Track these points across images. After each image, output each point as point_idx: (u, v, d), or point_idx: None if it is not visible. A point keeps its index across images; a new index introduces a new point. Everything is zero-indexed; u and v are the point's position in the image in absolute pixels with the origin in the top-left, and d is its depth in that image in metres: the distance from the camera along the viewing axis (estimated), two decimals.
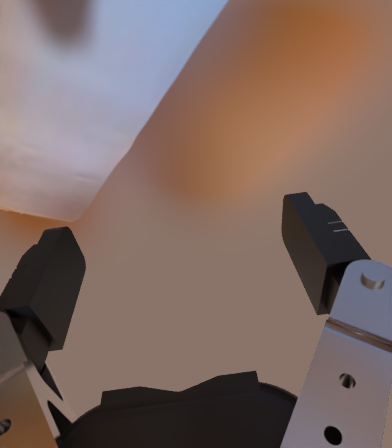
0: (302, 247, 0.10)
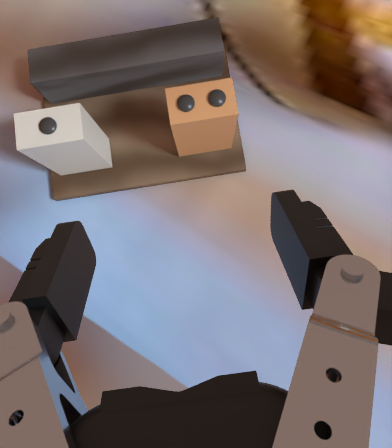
0: (288, 243, 0.10)
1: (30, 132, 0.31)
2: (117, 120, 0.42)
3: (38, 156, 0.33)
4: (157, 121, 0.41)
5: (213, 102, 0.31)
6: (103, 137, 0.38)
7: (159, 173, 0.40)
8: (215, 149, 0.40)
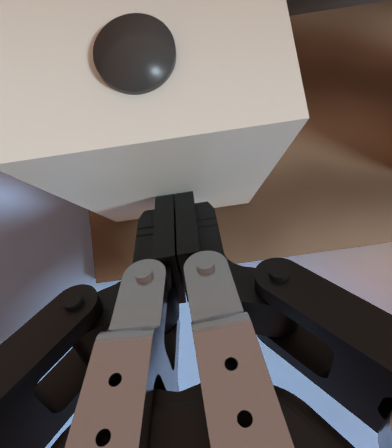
0: None
1: (51, 84, 0.07)
2: None
3: (76, 186, 0.09)
4: (354, 90, 0.17)
5: None
6: None
7: (368, 220, 0.16)
8: None
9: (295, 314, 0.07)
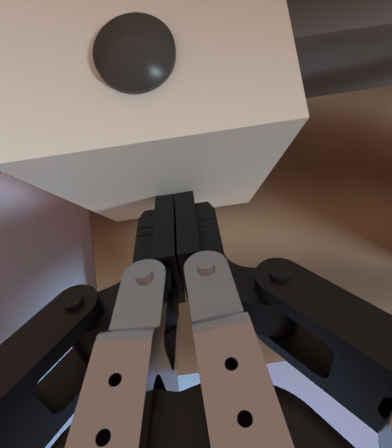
0: None
1: (50, 83, 0.07)
2: (270, 175, 0.16)
3: (76, 185, 0.09)
4: (374, 179, 0.16)
5: None
6: None
7: None
8: None
9: (295, 314, 0.07)
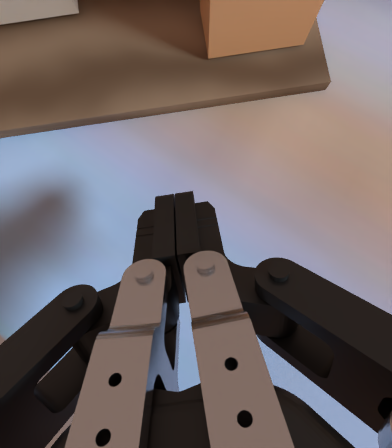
0: None
1: None
2: None
3: None
4: (168, 1, 0.23)
5: None
6: None
7: (171, 89, 0.22)
8: (276, 44, 0.22)
9: (295, 314, 0.07)
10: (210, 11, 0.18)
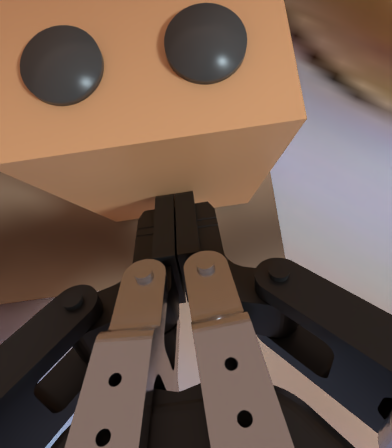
0: None
1: None
2: None
3: None
4: None
5: (188, 62, 0.07)
6: None
7: (67, 271, 0.16)
8: None
9: (295, 314, 0.07)
10: (86, 207, 0.12)
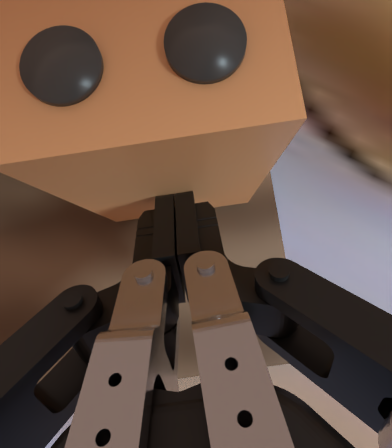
0: None
1: None
2: None
3: None
4: (77, 226, 0.16)
5: (188, 62, 0.07)
6: None
7: None
8: None
9: (295, 314, 0.07)
10: (86, 207, 0.12)
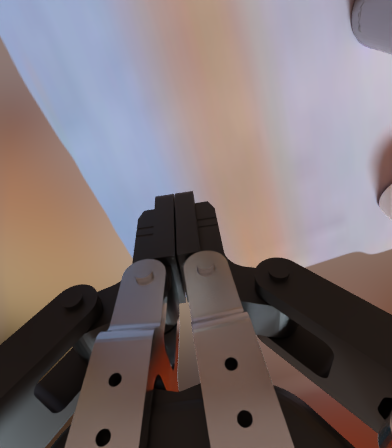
0: None
1: None
2: None
3: None
4: None
5: None
6: None
7: None
8: None
9: (295, 314, 0.07)
10: None
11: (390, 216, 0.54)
